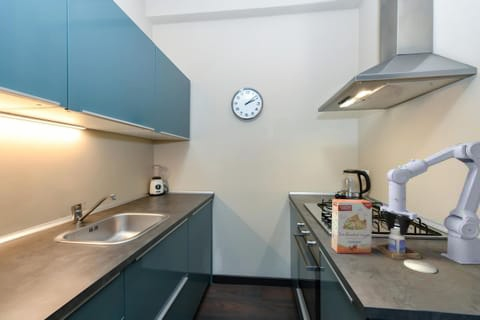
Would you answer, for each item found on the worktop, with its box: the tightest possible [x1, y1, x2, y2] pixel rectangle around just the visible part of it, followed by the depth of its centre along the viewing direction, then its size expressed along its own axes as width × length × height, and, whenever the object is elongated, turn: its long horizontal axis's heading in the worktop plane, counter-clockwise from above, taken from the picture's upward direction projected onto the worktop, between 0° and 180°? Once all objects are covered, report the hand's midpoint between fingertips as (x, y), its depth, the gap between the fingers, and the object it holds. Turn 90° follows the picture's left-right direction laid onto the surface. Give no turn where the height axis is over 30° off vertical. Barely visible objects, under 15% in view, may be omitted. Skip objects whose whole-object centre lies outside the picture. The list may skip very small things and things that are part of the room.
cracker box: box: [331, 198, 373, 254], centre depth 92 cm, size 14×6×21 cm, turn 91°
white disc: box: [403, 259, 438, 274], centre depth 78 cm, size 9×9×1 cm
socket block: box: [374, 243, 422, 261], centre depth 89 cm, size 11×11×2 cm
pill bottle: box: [388, 227, 406, 254], centre depth 89 cm, size 5×5×10 cm
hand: (396, 232), depth 89 cm, fingers open, 5 cm apart
